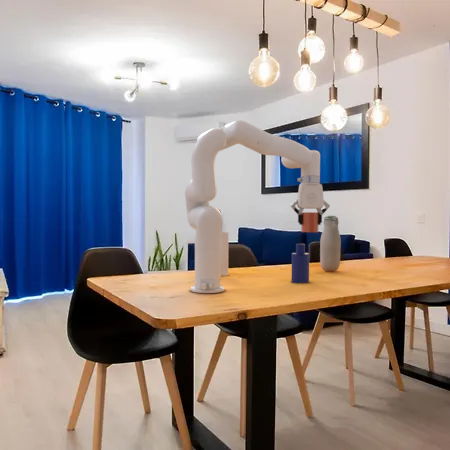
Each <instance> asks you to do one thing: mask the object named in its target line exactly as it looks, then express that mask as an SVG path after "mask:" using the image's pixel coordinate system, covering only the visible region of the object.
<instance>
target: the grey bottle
mask: <svg viewBox="0 0 450 450" xmlns="http://www.w3.org/2000/svg"><path fill="white" fill-rule="evenodd" d="M341 239H342V238H341V235H340V230H339V218H338V216H336V215H327V216H325V217H323V229H322V232H321V235H320V239H319V240H320V241H319V242H320V243H319V245H320V248H319V251H320V252H319V257H320V258H319V260H320V261H319V264H320V267H321V269H322V270H323V271H325V272H336V271H338V270H339V268H340V265H341V247H342V240H341Z"/></svg>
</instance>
